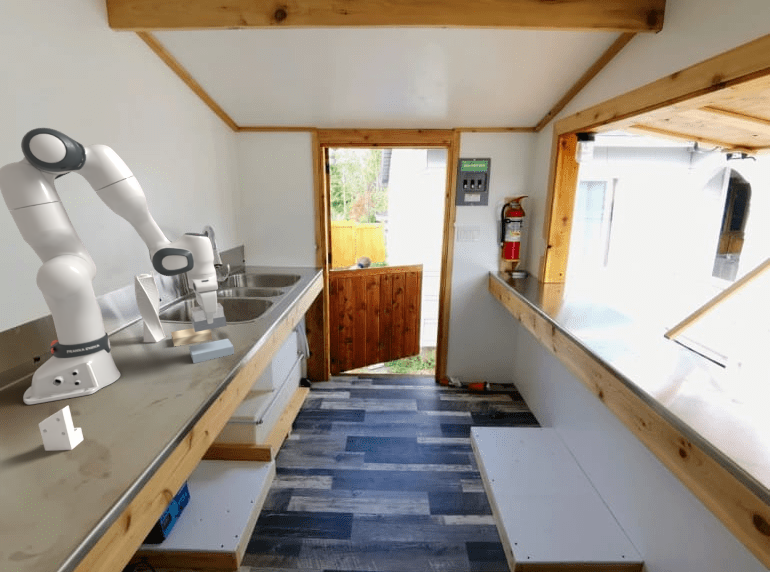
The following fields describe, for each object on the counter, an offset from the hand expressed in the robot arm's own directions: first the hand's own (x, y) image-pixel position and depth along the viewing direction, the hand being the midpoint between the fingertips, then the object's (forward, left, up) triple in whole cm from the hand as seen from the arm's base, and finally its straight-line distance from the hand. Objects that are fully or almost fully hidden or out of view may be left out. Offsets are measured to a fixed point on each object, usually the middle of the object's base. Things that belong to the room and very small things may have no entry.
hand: (208, 320), depth 132 cm
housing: (0, 0, -2) cm, 2 cm away
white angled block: (-37, -35, -13) cm, 53 cm away
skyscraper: (-16, +28, -13) cm, 35 cm away
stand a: (-4, +20, -13) cm, 24 cm away
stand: (0, 0, -13) cm, 13 cm away
